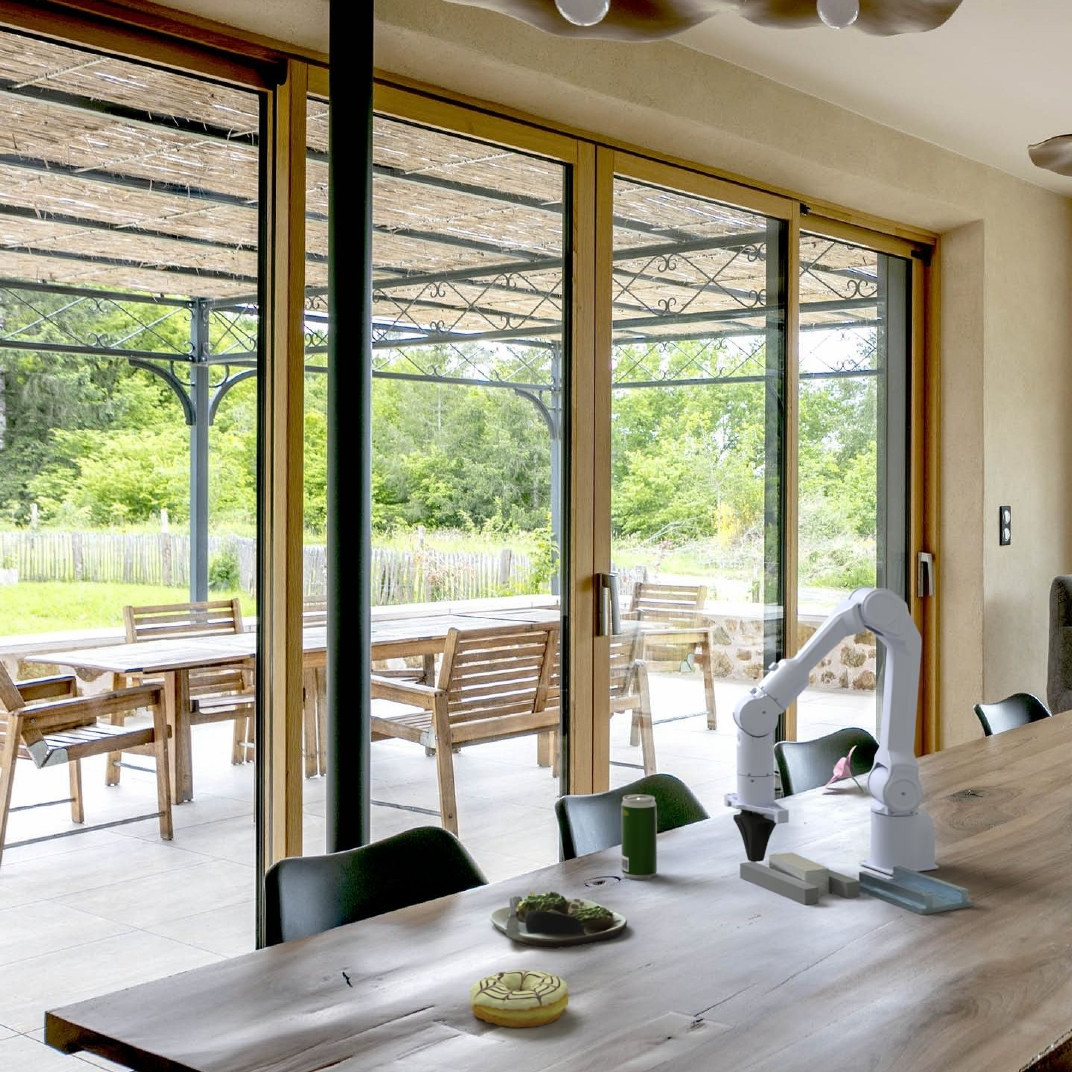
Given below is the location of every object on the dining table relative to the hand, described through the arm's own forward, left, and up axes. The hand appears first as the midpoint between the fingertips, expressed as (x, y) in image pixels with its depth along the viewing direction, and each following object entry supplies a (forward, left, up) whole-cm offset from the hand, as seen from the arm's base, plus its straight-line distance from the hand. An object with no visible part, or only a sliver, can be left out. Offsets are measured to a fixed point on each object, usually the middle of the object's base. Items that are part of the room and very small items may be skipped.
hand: (755, 860), depth 200 cm
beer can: (+18, -5, -2) cm, 19 cm away
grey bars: (0, +11, -1) cm, 11 cm away
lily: (-51, -42, -2) cm, 66 cm away
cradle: (-11, +23, -1) cm, 25 cm away
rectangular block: (0, +11, -2) cm, 11 cm away
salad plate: (+41, +13, -2) cm, 43 cm away
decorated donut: (+58, +38, -2) cm, 69 cm away
